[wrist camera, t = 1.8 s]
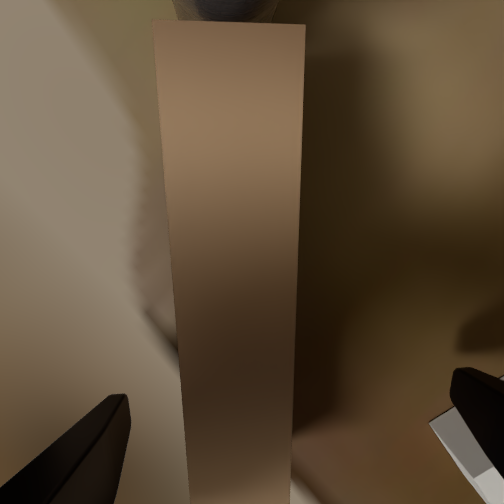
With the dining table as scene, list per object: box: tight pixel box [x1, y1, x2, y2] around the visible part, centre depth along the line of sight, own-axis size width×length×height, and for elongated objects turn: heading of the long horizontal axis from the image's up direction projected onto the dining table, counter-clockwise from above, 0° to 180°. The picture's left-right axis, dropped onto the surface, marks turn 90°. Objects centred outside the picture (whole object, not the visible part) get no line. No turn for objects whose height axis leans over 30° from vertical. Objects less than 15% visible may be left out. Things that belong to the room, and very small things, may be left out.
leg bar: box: [152, 19, 306, 504], centre depth 7 cm, size 11×2×3 cm, turn 0°
